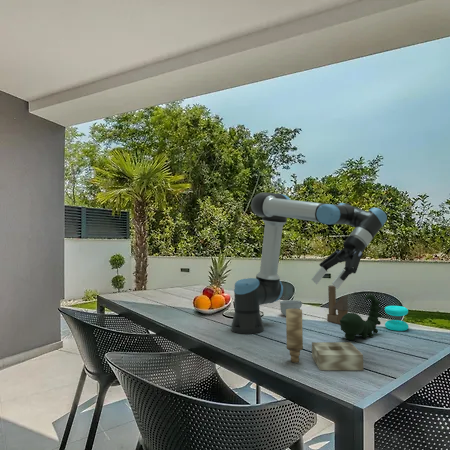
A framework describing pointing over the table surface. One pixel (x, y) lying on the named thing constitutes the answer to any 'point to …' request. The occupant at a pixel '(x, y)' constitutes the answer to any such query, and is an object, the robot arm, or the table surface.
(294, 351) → the oak peg
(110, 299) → the table surface
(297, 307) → the teacup
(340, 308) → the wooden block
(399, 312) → the cyan spool
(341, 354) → the birch socket block
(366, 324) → the toy figurine
